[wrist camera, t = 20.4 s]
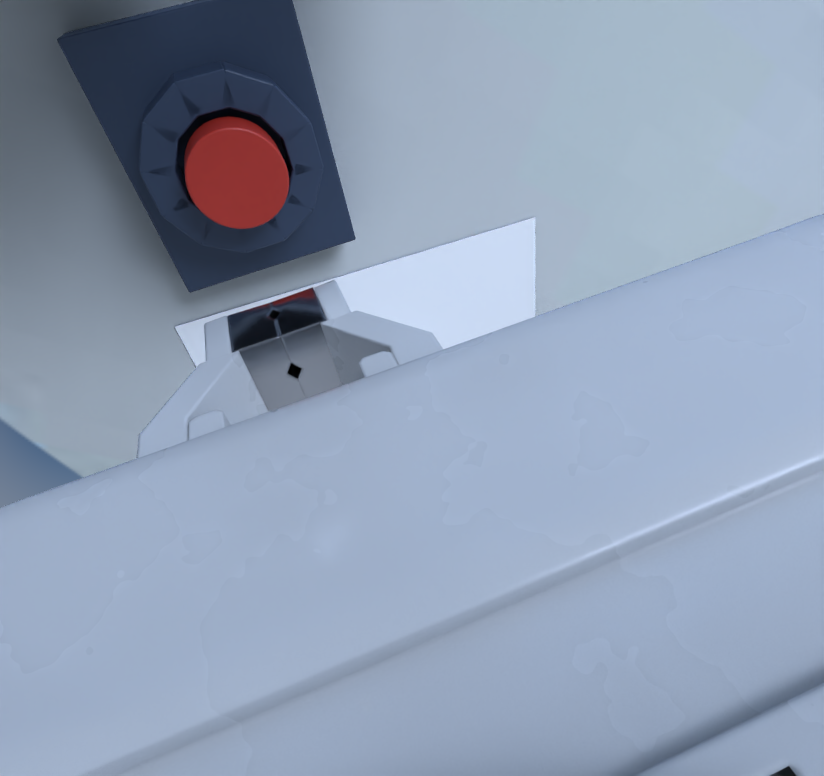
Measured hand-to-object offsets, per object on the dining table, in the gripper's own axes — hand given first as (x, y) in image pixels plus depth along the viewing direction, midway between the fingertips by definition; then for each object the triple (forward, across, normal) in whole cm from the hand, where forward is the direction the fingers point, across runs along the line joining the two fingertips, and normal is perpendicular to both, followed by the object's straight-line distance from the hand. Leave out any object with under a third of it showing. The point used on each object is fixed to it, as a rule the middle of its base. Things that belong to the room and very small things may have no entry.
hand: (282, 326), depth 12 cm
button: (+12, 0, 0) cm, 12 cm away
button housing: (+15, 0, 0) cm, 15 cm away
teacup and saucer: (+15, -4, +17) cm, 23 cm away
